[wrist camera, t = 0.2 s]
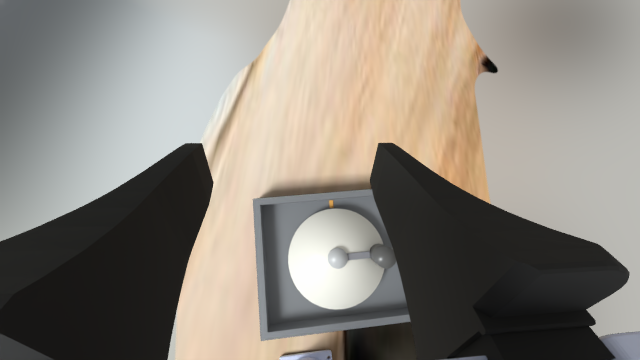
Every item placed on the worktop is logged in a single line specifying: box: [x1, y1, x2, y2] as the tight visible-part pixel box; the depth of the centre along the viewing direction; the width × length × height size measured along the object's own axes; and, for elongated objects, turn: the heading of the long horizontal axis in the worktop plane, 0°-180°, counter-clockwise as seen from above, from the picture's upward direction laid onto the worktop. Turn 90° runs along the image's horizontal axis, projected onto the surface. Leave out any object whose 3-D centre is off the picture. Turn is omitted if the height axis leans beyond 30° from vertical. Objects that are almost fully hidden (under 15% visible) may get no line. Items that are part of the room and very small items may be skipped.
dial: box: [288, 209, 396, 310], centre depth 37 cm, size 16×15×5 cm
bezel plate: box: [253, 189, 411, 341], centre depth 39 cm, size 20×24×4 cm
